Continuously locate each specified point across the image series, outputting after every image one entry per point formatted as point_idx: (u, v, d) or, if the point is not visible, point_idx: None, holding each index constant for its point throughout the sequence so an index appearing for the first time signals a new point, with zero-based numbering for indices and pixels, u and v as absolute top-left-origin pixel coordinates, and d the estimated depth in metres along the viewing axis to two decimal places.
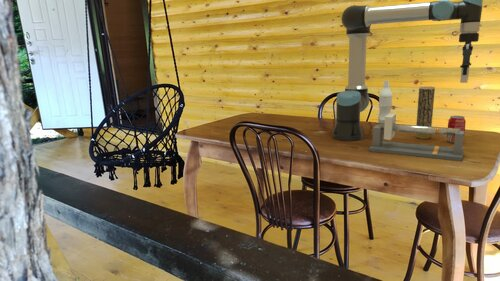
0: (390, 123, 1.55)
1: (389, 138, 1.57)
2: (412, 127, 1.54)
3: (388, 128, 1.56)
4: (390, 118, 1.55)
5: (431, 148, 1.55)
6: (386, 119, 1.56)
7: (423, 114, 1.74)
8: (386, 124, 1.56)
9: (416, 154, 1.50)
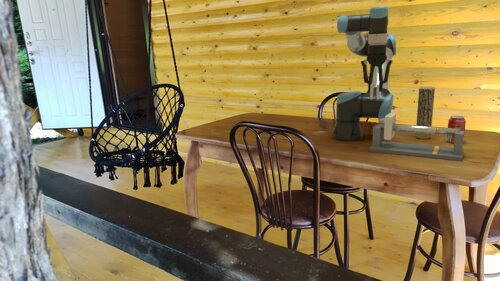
0: (390, 123, 1.55)
1: (389, 138, 1.57)
2: (412, 127, 1.54)
3: (388, 128, 1.56)
4: (390, 118, 1.55)
5: (431, 148, 1.55)
6: (386, 119, 1.56)
7: (423, 114, 1.74)
8: (386, 124, 1.56)
9: (416, 154, 1.50)
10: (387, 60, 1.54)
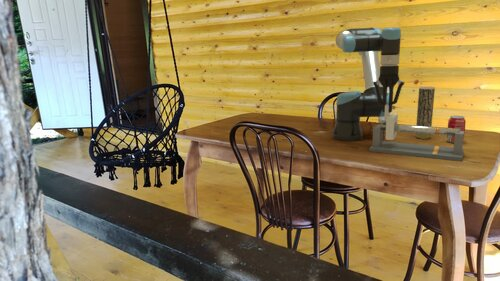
0: (392, 123, 1.55)
1: (391, 138, 1.57)
2: (412, 127, 1.54)
3: (390, 128, 1.56)
4: (392, 118, 1.54)
5: (431, 148, 1.55)
6: (388, 119, 1.55)
7: (423, 114, 1.74)
8: (388, 124, 1.56)
9: (416, 154, 1.50)
10: (399, 81, 1.53)
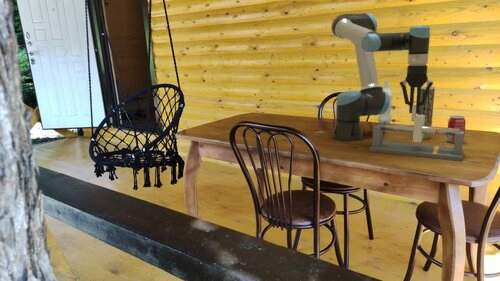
0: (420, 125, 1.49)
1: (419, 141, 1.51)
2: (412, 127, 1.54)
3: (418, 130, 1.50)
4: (420, 120, 1.49)
5: (431, 148, 1.55)
6: (416, 121, 1.50)
7: (423, 114, 1.74)
8: (416, 126, 1.50)
9: (416, 154, 1.50)
10: (428, 82, 1.48)
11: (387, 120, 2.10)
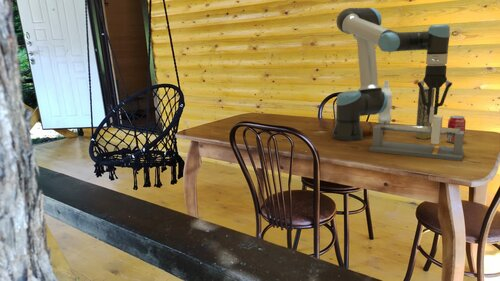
0: (438, 126, 1.46)
1: (437, 142, 1.48)
2: (412, 127, 1.54)
3: (436, 132, 1.47)
4: (439, 121, 1.45)
5: (431, 148, 1.55)
6: (434, 122, 1.46)
7: (423, 114, 1.74)
8: (434, 127, 1.47)
9: (416, 154, 1.50)
10: (447, 82, 1.44)
11: (387, 120, 2.10)
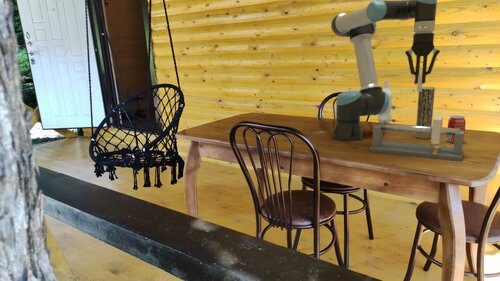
0: (439, 126, 1.46)
1: (437, 142, 1.47)
2: (412, 127, 1.54)
3: (436, 132, 1.47)
4: (439, 121, 1.45)
5: (431, 148, 1.55)
6: (434, 122, 1.46)
7: (423, 114, 1.74)
8: (434, 127, 1.47)
9: (416, 154, 1.50)
10: (434, 50, 1.44)
11: (387, 120, 2.10)
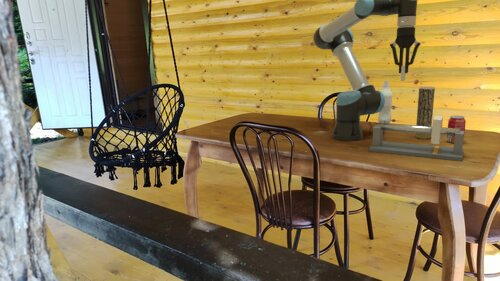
0: (439, 126, 1.46)
1: (437, 142, 1.47)
2: (412, 127, 1.54)
3: (436, 132, 1.47)
4: (439, 121, 1.45)
5: (431, 148, 1.55)
6: (434, 122, 1.46)
7: (423, 114, 1.74)
8: (434, 127, 1.47)
9: (416, 154, 1.50)
10: (415, 42, 1.59)
11: (387, 120, 2.10)
